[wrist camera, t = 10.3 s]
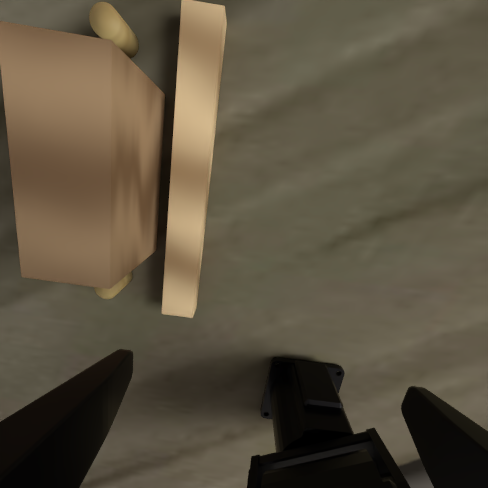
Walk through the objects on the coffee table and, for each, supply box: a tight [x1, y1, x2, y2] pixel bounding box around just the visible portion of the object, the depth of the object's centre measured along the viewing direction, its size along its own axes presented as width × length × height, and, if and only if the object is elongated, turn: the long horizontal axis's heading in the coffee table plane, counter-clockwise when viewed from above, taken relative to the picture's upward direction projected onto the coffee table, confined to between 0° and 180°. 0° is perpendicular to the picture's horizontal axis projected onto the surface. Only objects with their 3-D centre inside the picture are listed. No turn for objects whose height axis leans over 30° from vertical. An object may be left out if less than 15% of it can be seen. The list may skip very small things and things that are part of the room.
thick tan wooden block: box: [0, 21, 165, 289], centre depth 15 cm, size 11×5×7 cm, turn 171°
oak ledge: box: [89, 0, 227, 318], centre depth 17 cm, size 20×7×2 cm, turn 172°
